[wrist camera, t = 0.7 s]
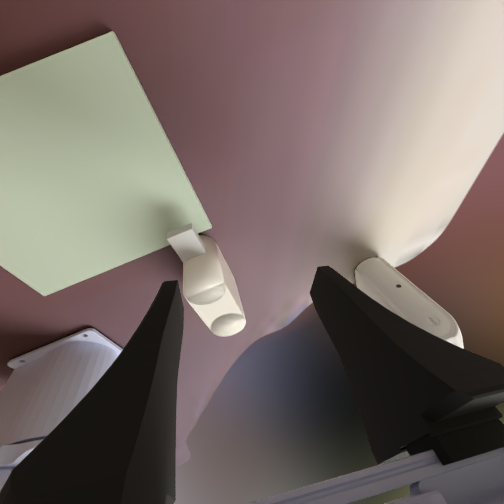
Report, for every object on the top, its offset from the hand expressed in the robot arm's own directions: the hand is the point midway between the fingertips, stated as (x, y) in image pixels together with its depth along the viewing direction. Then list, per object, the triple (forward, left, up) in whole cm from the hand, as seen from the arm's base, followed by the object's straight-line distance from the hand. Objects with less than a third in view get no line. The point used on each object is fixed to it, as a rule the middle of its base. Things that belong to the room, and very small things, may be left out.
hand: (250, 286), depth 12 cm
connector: (-4, -4, -10) cm, 12 cm away
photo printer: (+14, -19, -10) cm, 26 cm away
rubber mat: (-10, +5, -10) cm, 15 cm away
